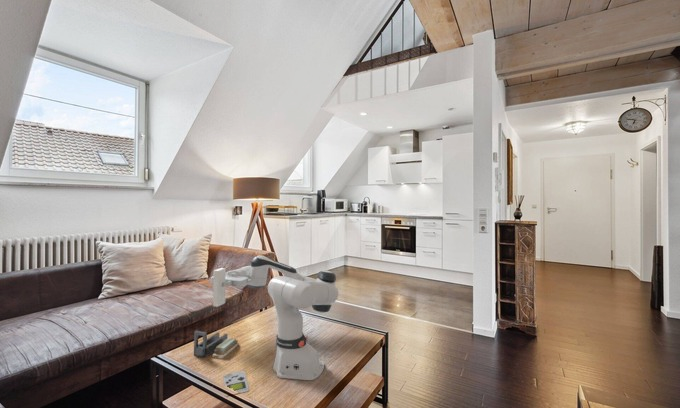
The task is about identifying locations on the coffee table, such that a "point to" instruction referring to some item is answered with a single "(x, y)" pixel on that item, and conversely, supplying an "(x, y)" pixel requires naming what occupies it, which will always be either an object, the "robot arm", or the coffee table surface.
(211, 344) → the slot rack
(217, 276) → the white rectangular slab
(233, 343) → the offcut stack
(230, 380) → the handheld gaming device
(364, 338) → the coffee table surface
